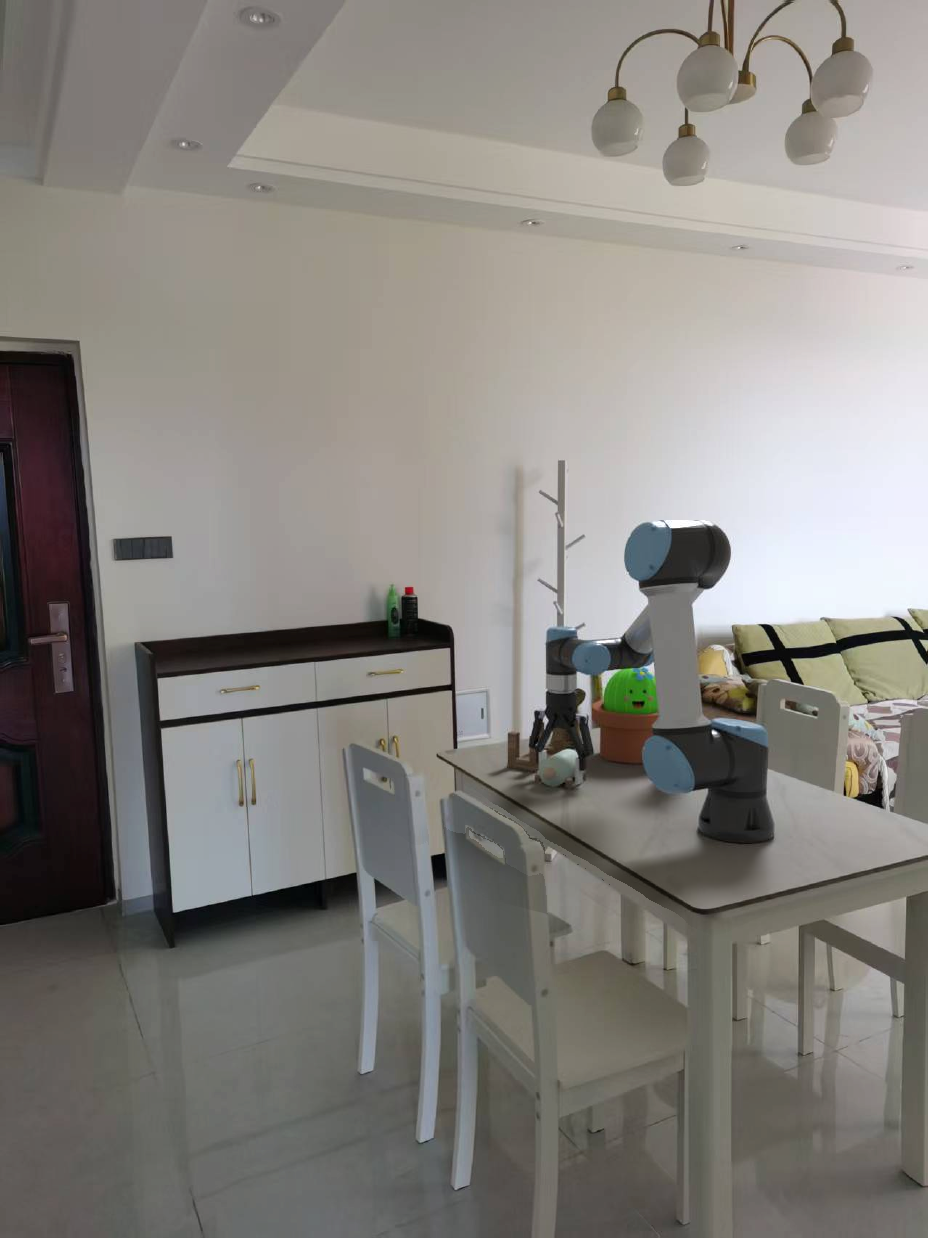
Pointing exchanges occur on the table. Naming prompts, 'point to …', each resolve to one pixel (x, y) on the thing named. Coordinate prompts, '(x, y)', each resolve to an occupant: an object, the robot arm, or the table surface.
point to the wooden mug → (580, 699)
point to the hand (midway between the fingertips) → (560, 779)
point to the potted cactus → (626, 715)
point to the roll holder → (530, 759)
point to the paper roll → (558, 767)
